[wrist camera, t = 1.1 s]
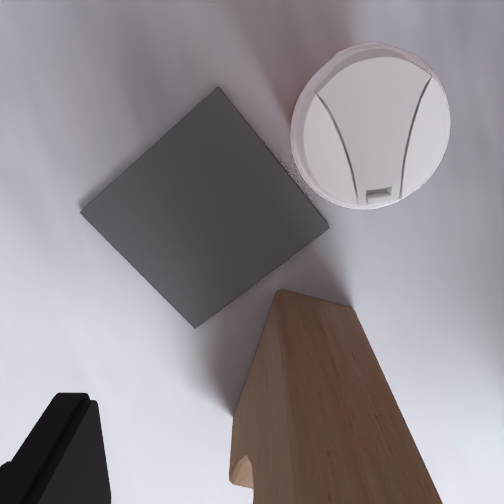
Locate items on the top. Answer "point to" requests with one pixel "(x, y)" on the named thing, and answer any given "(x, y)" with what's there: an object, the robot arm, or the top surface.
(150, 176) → the mat
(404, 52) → the paper cup
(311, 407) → the decorative block
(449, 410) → the top surface
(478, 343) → the top surface
